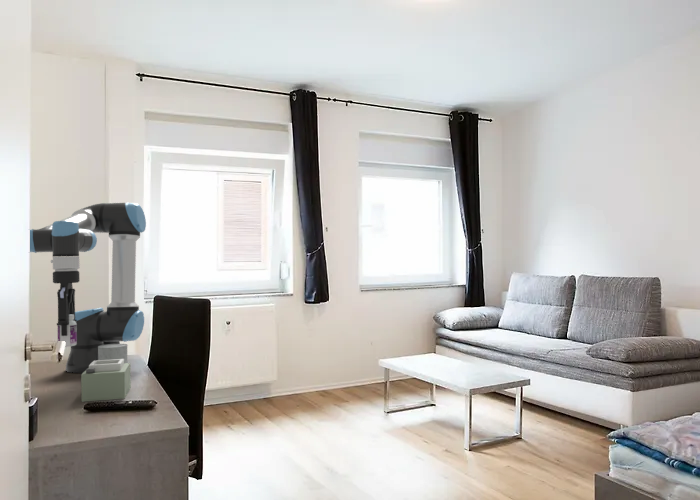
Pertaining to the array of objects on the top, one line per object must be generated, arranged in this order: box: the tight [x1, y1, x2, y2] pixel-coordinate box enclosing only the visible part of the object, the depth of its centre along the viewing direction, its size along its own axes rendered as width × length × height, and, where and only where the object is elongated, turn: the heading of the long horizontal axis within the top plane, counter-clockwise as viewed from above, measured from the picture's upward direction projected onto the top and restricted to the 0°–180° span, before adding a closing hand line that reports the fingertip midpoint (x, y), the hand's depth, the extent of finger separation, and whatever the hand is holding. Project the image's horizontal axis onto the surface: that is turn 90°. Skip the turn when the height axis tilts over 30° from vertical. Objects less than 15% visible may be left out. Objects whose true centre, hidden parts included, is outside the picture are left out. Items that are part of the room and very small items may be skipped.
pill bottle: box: [57, 314, 77, 348], centre depth 182 cm, size 5×5×10 cm
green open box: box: [80, 359, 132, 403], centre depth 182 cm, size 16×12×10 cm
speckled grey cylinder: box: [98, 343, 129, 363], centre depth 202 cm, size 10×10×12 cm
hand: (67, 344), depth 182 cm, fingers closed on pill bottle, 5 cm apart
